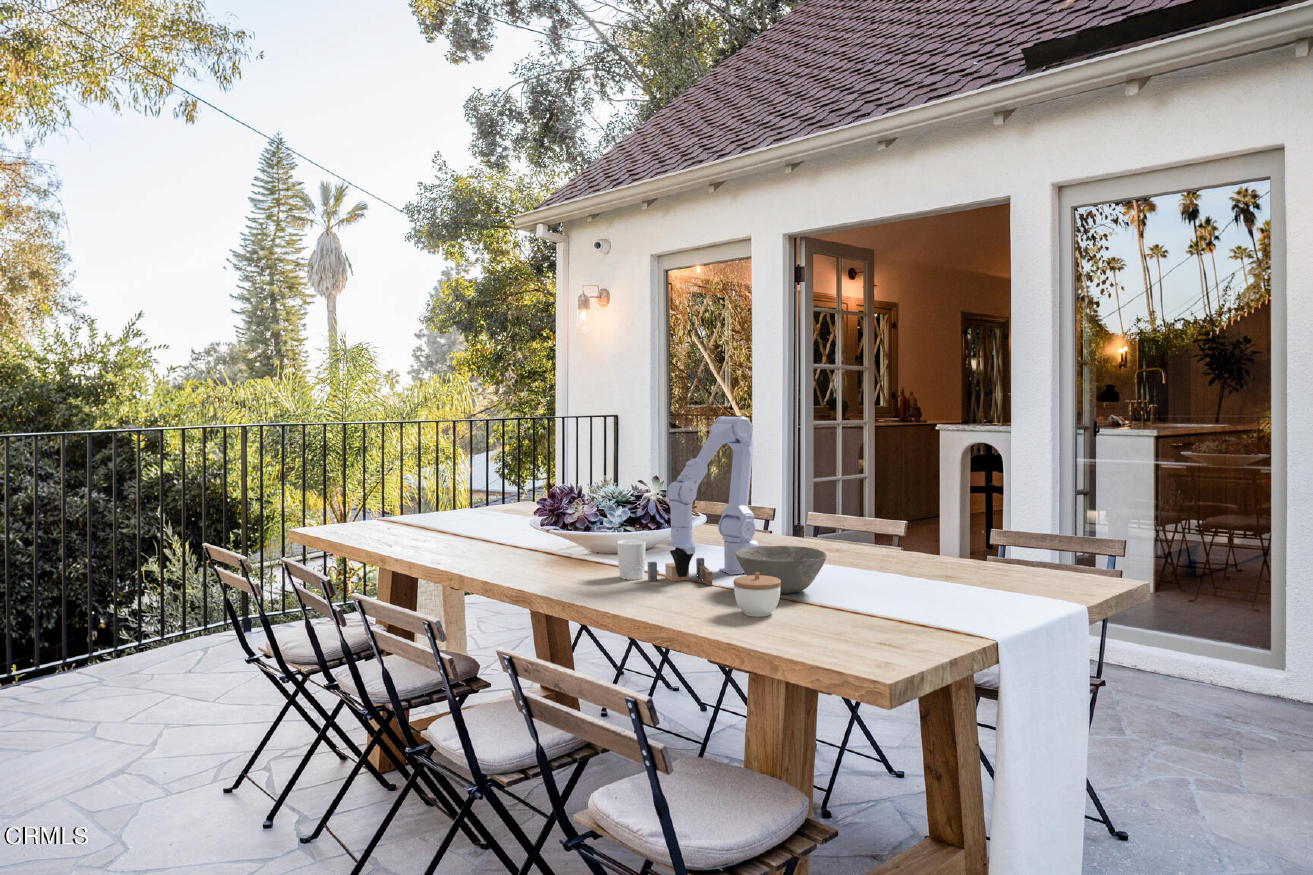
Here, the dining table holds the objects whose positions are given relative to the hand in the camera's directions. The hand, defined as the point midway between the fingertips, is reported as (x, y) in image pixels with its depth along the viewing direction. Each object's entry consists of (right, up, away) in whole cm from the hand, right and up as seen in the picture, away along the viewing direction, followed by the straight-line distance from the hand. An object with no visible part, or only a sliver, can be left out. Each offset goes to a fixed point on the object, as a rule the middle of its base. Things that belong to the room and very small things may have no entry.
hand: (682, 576), depth 230 cm
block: (-1, -1, +4) cm, 4 cm away
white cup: (-14, -2, +6) cm, 15 cm away
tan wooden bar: (+6, -1, -1) cm, 7 cm away
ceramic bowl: (+25, -2, -13) cm, 28 cm away
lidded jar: (+16, -3, -35) cm, 39 cm away
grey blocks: (-1, -1, +4) cm, 5 cm away
